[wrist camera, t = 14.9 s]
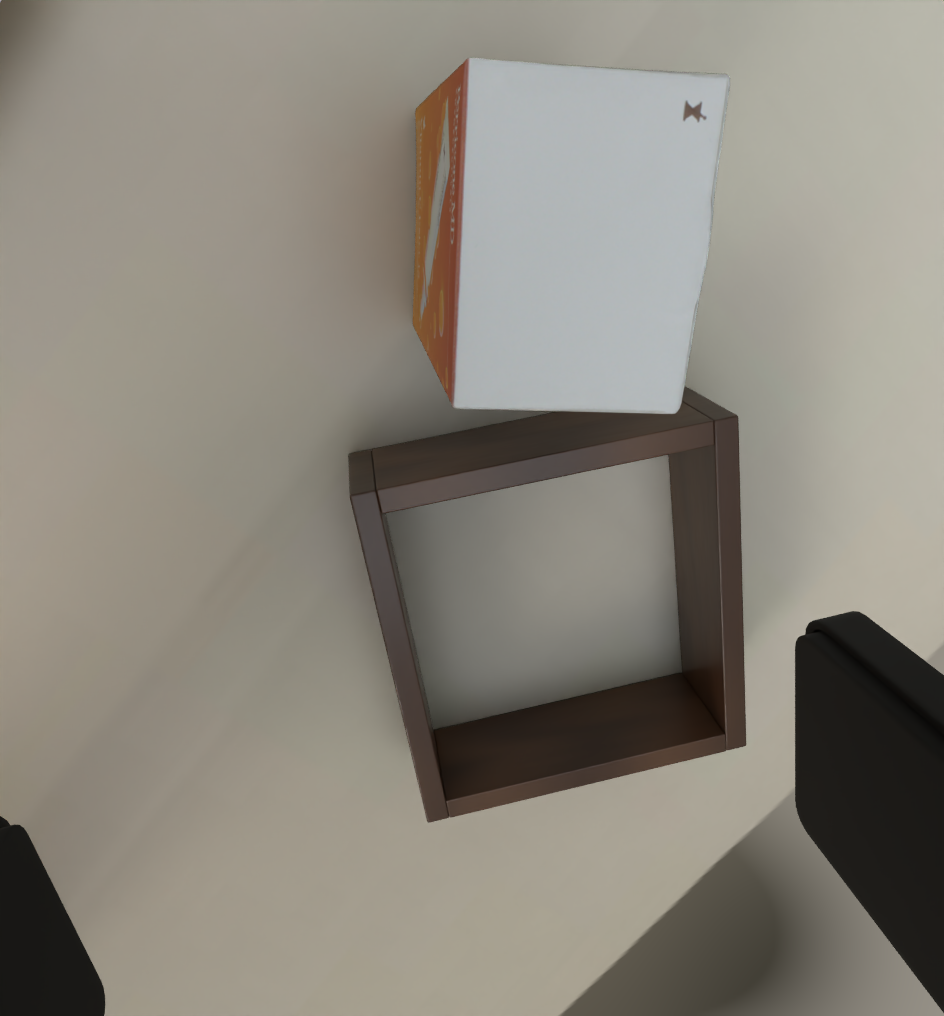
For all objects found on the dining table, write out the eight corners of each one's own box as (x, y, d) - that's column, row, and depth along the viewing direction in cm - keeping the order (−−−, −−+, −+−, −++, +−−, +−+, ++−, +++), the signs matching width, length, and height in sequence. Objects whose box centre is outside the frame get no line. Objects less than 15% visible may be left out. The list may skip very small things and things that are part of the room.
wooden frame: (417, 750, 39) (427, 823, 35) (347, 453, 33) (349, 495, 28) (701, 683, 41) (747, 746, 36) (685, 385, 34) (738, 415, 30)
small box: (412, 106, 29) (464, 45, 17) (580, 117, 30) (741, 68, 18) (408, 330, 32) (450, 415, 20) (560, 334, 33) (688, 416, 21)
